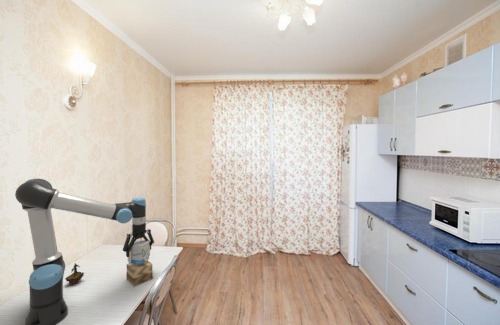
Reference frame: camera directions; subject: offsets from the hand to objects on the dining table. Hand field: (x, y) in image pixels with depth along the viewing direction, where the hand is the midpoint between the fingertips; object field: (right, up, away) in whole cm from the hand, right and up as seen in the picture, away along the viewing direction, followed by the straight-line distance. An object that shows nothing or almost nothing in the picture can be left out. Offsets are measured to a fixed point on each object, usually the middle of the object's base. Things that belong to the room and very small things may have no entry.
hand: (139, 258), depth 144 cm
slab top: (0, -8, 0) cm, 8 cm away
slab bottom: (0, -13, 0) cm, 13 cm away
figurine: (-36, -13, -5) cm, 38 cm away
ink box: (0, -2, 0) cm, 2 cm away
